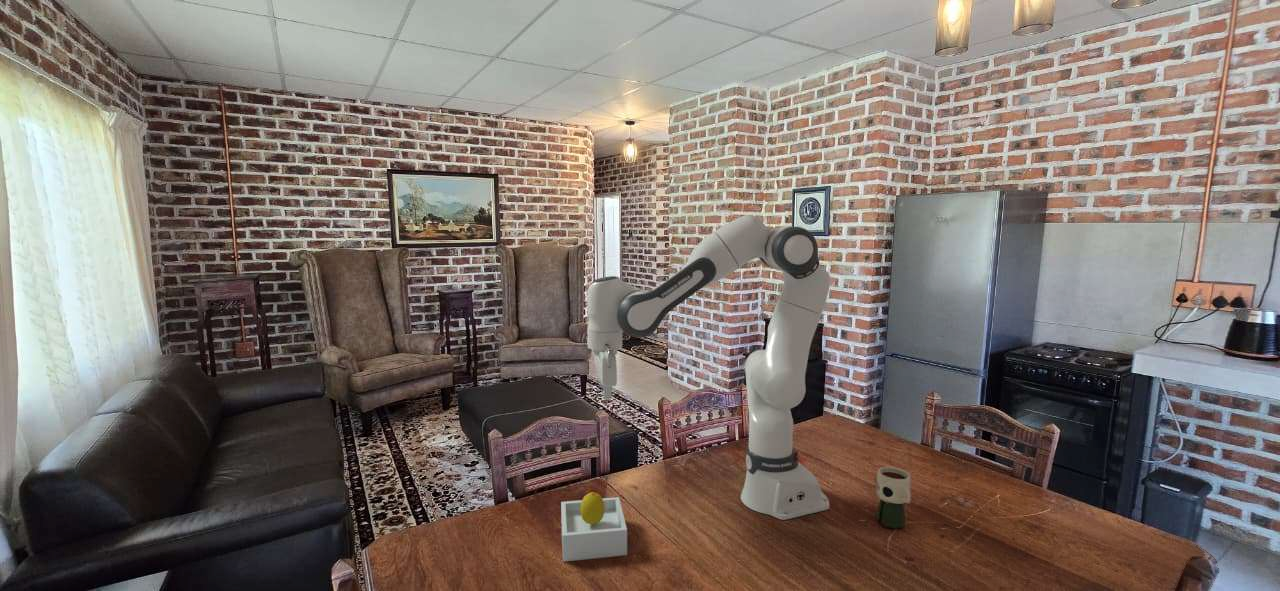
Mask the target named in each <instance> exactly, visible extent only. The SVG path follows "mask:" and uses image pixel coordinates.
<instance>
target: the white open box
mask: <svg viewBox="0 0 1280 591" xmlns="http://www.w3.org/2000/svg"><path fill="white" fill-rule="evenodd" d="M602 499H603V502H604V506H605V511H604V516H603V518H602V520H601V521H600V522H599V523H597V524H595V525H593V526H592V525H591V524H588V523H586V522H585V521H584V520H583V518H582V516H581V510H580V508H581V502H582V500H583V499H581V500H570V501H561V502H560V506H561V507H560V509H561V510H560V511H561V512H560V514H561V515H560V516H561V518H560V519H561V525H562V526H561V545H562V549H561V550H562V562H564V563H565V562H572V561H573V562H574V561H583V560H590V559H601V558H611V557H619V556H620V557H621V556H627V555H628V528H627V524H626V523H627V522H626V520H625V516H624V511H623V508H622V504H621V500H620V497H619V496H616V497H604V498H603V497H602Z"/></svg>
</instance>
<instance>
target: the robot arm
mask: <svg viewBox="0 0 1280 591" xmlns="http://www.w3.org/2000/svg"><path fill="white" fill-rule="evenodd" d="M818 246H819V245H818V243H817V239H816V237H815V236H814V235H813V234H812V232H810V231H809V230H807V229H806V228H803V227H801V226H794V225H793V226H791V225H785V226H784V225H783V226H780V227H773V228H768V227H767V226H766V225H765V223H764V222H763V221H762V220H761V218H759V217H757V216H755V215H752V214H744V215H742V216H740V217H738V218H736V219H733V220H731V221H729V222H727V223H725V224H724V225H722V226H721V227H719V228H717V229H716V230H714V231H713V232H711V233H710V234H708V235H707V236H706V237H704V239H702V240H701V241H700V242H698V243H697V245H696V246H695V247H694V248H693V249H692V250H691V253H690V254H689V257H688V259H687V261H686V263H685V264H684V266H682V268H681V269H679V271H678V272H675V273H674V275H672V276H670V277H669V278H668V279H666V280H665V281H664V282H662V283H661V284H660V285H658V286H656V287H655V288H653V289H652V290H650V291H648V290H645V289H643V288H639V287H636V286H633V285H631V284H629V283H627V282H626V281H624V280H622V279H621V278H620V277H618V276H616V275H613V276H610V275H609V276H604V277H599V278H596V279H595V280H593V281H592V282H590V284H589V286H588V290H587V300H586V310H587V311H586V313H587V316H588V324H587V328H586V331H587V333H586V334H587V336H586V337H587V339H586V340H587V349H589V350H592V355H593V361H594V365H595V369H596V371H597V375H598V378H599V387H600V388H601V389H603V399H604V401H609V400H611V399H612V392H613V387H616V386H617V383H618V375H617V374H618V371H617V370H618V367H617V365H618V364H617V357H616V355H617V354H618V350H620V349H622V348H623V333H624V334H626V335H627V336H629V337H631V338H637V339H639V338H640V339H641V338H642V339H643V338H646V337H649V336H651V335H653V334H654V332H656V330H657V329H658V328H659V327H660V324H661V323H662V321H663V320H664V318H665V317H666V315H667V314H668V313H669V312H671V311H672V310H674V309H675V308H676V307H678V306H679V305H680V304H681V303H683V302H685V301H686V300H687V299H689V298H691V296H693V295H694V294H696V293H697V292H699V291H700V290H702V289H703V288H705V287H707V286H709V285H711V284H713V283H716V282H717V281H720V280H722V279H723V278H726V277H727V276H729V275H731V274H733V273H734V272H736V271H737V270H739V269H740V268H742V266H744V265H745V264H747V263H748V262H751V261H753V260H755V259H759V260H760V261H761V262H762V263H764V264H765V265H766V266H767V267H770V268H772V269H775V270H777V271H781V272H782V273H783V274H782V275H783V288H782V289H781V292H780V295H779V297H778V299H777V302H776V305H775V308H774V310H773V313H772V316H771V318H770V321H769V324H768V326H767V341H766V345H765V349H758V350H757V349H756V350H754V351H753V352H751V353H750V354H749V355H748V356H747V358H746V359H745V362H744V372H745V383H746V386H745V387H746V398H747V399H746V400H747V406H748V407H747V408H748V409H747V410H748V424H749V425H748V428H749V429H748V445H747V447H746V456H745V464H746V465H745V466H746V474H745V480H744V485H743V488H742V492H741V494H740V500H741V502H742V503H743V504H744V505H745V506H746V507H747V508H748V509H750V510H753V511H755V512H758V513H760V514H765V515H769V516H772V517H774V518H777V519H779V520H782V521H785V520H789V519H793V518H797V517H798V518H799V517H802V516H806V515H809V514H810V515H811V514H815V513H818V512H822V511H827V510H829V509H830V501H829V498H828V497H827V495H826V494H825V493H824V492H823V491H822V490H821V487H820V483H819V481H818V479H817V478H816V476H815V475H814V474H813V473H812V472H811V471H810V470H808V468H806V467H805V466H803V465H804V464H806V462H807V457H806V456H805V455H804V454H802V453H799V452H798V450H796V449H795V448H793V446H794V445H793V443H794V438H793V437H794V419H793V417H792V411H791V409H794V408H795V407H797V406H799V404H801V402H802V401H803V399H804V398H805V395H806V391H807V390H806V388H807V387H806V372H807V366H808V361H809V359H808V358H809V354H810V348H811V346H812V345H811V344H812V342H813V338H814V336H815V333H816V330H817V328H818V325H819V322H820V320H821V317H822V314H823V312H824V308H825V306H826V303H827V300H828V295H829V291H830V290H829V289H830V286H831V276H830V273H829V271H827V269H826V268H824V267H823V266H821V265H820V258H819V247H818ZM802 464H803V465H802Z"/></svg>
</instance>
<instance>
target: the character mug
mask: <svg viewBox="0 0 1280 591" xmlns="http://www.w3.org/2000/svg"><path fill="white" fill-rule="evenodd" d="M876 473H877V474H876V490H875V492H876V495H877V497H878V498H879V499H880V500H879V504H878V508H877V512H876V521H877V522H879V520H881V522H880V525H883V526H884V527H887V528H892V529H897V528H898V529H899V528H901V527H904V526H905V524H906V513H905V504H906V503H907V504H910V503H911V497H912V494H911V492H912V491H911V490H910V488H911V475H910V473H909V472H908V471H907V470H905V469H902V468H899V467H895V466H881V467H879V468H878V470H877V472H876Z"/></svg>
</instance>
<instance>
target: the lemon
mask: <svg viewBox="0 0 1280 591" xmlns="http://www.w3.org/2000/svg"><path fill="white" fill-rule="evenodd" d="M602 498H603V497H602V496H601V495H600V493H599V494H598V493H596V492H594V491H591V492H589V493H587V494H586V495H584V496H583V498H582V499H581V500H582V502H581V508H580V510H581V516H582V518H583V520H584V521H585V522H586V523H588V524H591V525H592V526H593V525H595V524H597V523H599V522H600V521H601V520H602V518H603V516H604V511H605V506H604V502H603V499H602Z"/></svg>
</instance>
